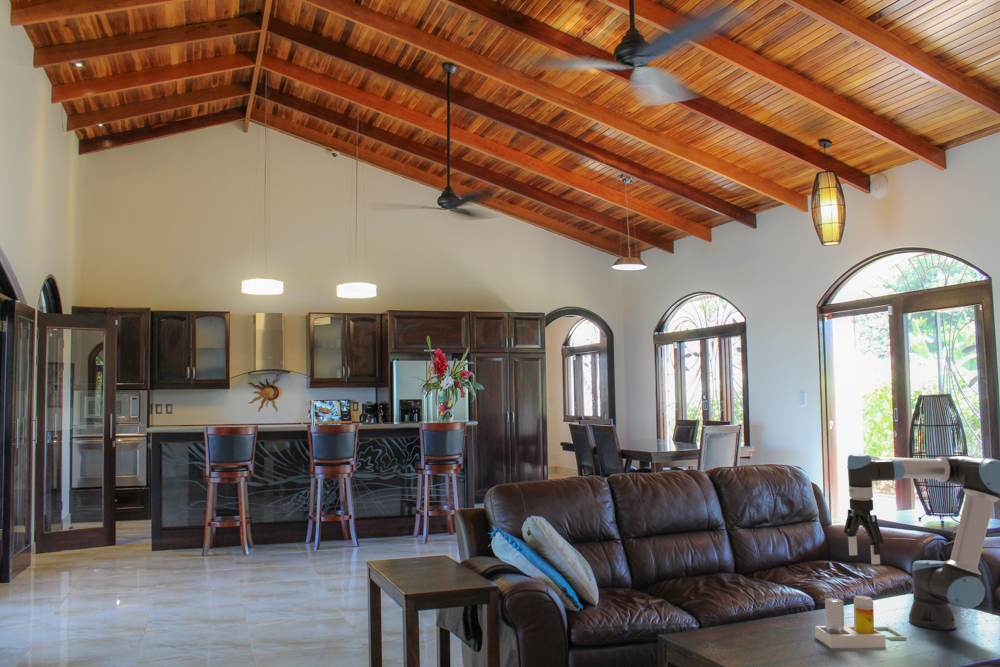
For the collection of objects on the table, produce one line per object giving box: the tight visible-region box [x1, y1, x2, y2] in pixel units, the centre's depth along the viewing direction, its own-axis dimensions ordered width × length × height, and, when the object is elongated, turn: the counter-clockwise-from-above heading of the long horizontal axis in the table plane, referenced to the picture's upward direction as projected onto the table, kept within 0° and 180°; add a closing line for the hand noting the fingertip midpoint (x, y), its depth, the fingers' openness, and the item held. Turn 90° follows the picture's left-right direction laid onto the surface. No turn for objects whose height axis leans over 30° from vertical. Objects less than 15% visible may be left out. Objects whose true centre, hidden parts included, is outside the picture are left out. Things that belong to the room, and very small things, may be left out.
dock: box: [814, 624, 887, 649], centre depth 259 cm, size 19×11×4 cm, turn 94°
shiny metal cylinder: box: [824, 597, 845, 635], centre depth 259 cm, size 6×6×14 cm
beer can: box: [853, 594, 875, 634], centre depth 259 cm, size 6×6×15 cm
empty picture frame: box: [874, 626, 908, 641], centre depth 268 cm, size 11×11×1 cm
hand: (864, 559), depth 265 cm, fingers open, 13 cm apart
